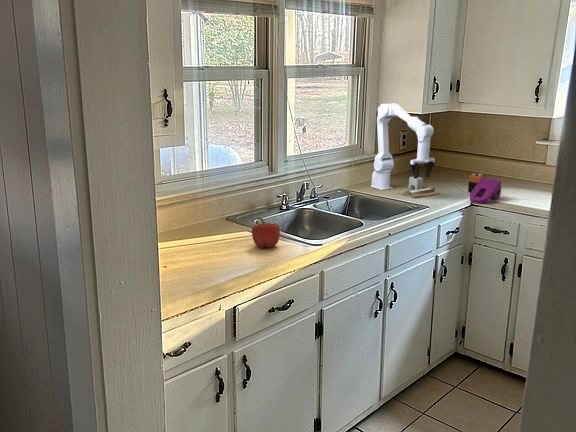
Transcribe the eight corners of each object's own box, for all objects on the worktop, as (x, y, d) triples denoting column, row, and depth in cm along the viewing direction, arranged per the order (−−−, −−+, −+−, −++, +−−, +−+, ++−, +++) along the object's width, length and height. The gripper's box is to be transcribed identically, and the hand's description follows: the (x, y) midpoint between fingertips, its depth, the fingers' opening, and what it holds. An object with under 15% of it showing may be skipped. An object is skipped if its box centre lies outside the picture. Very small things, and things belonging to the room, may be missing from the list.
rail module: (408, 188, 310) (409, 176, 308) (414, 187, 312) (414, 176, 310) (416, 190, 305) (417, 178, 303) (422, 189, 307) (423, 178, 305)
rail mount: (398, 193, 296) (399, 188, 296) (424, 190, 306) (424, 184, 305) (414, 198, 287) (414, 192, 287) (440, 194, 297) (440, 188, 296)
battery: (480, 194, 298) (482, 175, 295) (467, 192, 302) (469, 173, 300) (483, 193, 301) (485, 173, 299) (471, 190, 305) (472, 172, 303)
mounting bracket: (486, 215, 280) (501, 194, 290) (484, 201, 276) (500, 180, 285) (467, 212, 286) (483, 191, 296) (466, 198, 282) (482, 177, 291)
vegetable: (245, 244, 214) (245, 218, 212) (269, 239, 220) (269, 214, 217) (261, 252, 206) (261, 225, 203) (285, 247, 211) (285, 221, 209)
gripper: (418, 152, 277) (416, 180, 280) (440, 150, 284) (437, 177, 288) (408, 150, 282) (406, 178, 286) (429, 148, 290) (427, 175, 294)
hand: (421, 177), depth 287 cm, fingers open, 7 cm apart
